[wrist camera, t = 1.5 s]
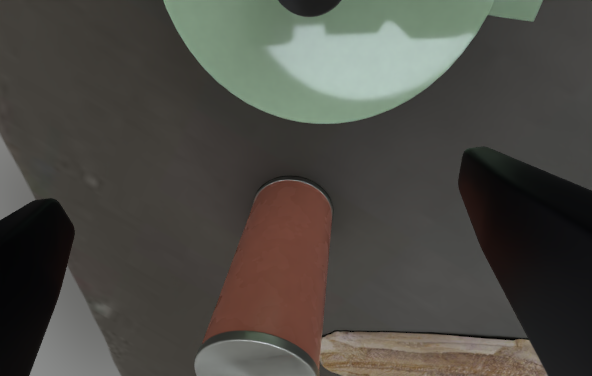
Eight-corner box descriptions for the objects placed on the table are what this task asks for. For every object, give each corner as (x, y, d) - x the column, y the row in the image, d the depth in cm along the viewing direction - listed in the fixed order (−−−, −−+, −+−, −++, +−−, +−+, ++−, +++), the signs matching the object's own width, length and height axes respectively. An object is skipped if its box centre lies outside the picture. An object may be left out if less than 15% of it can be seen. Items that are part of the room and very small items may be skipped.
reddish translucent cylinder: (301, 161, 26) (263, 324, 16) (348, 219, 28) (343, 396, 18) (238, 199, 29) (168, 361, 18) (286, 249, 31) (249, 419, 20)
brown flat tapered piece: (319, 385, 42) (318, 395, 41) (315, 319, 37) (314, 329, 36) (584, 412, 37) (590, 424, 36) (620, 341, 32) (628, 353, 31)
